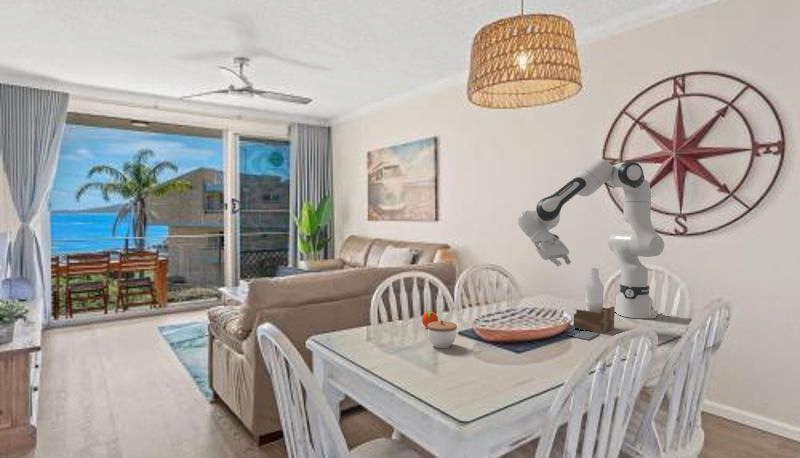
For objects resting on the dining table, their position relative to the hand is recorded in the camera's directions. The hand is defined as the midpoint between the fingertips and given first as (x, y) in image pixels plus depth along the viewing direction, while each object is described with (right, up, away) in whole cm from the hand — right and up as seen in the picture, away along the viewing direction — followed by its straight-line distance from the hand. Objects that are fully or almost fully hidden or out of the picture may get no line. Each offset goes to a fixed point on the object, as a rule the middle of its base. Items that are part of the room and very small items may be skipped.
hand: (564, 264), depth 197 cm
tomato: (-59, -26, -7) cm, 65 cm away
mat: (0, -27, -18) cm, 32 cm away
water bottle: (+9, -26, -8) cm, 29 cm away
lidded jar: (-57, -28, -31) cm, 70 cm away
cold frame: (+9, -26, -8) cm, 29 cm away
